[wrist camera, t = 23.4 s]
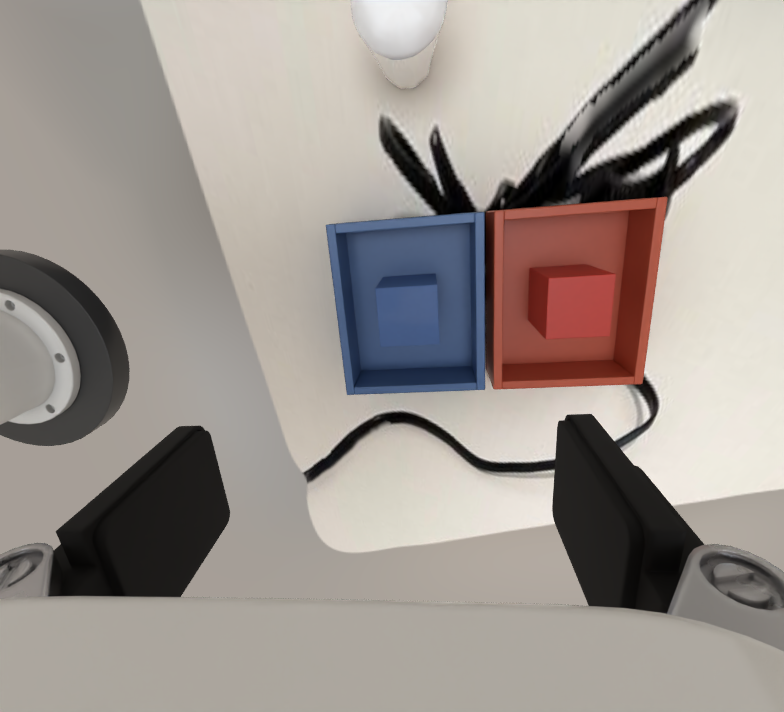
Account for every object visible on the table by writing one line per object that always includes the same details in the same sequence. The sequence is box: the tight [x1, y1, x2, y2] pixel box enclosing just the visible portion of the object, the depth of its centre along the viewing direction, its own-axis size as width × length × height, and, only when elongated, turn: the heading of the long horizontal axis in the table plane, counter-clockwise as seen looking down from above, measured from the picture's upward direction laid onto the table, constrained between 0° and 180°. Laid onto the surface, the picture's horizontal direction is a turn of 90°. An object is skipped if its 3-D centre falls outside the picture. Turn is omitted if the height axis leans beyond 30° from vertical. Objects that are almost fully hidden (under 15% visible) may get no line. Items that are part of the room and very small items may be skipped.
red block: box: [528, 264, 616, 340], centre depth 28 cm, size 4×4×5 cm
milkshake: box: [351, 0, 448, 89], centre depth 22 cm, size 4×5×10 cm
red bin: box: [486, 197, 667, 389], centre depth 29 cm, size 10×12×4 cm
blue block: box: [375, 273, 440, 347], centre depth 29 cm, size 4×4×5 cm
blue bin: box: [326, 212, 485, 395], centre depth 30 cm, size 10×12×4 cm
